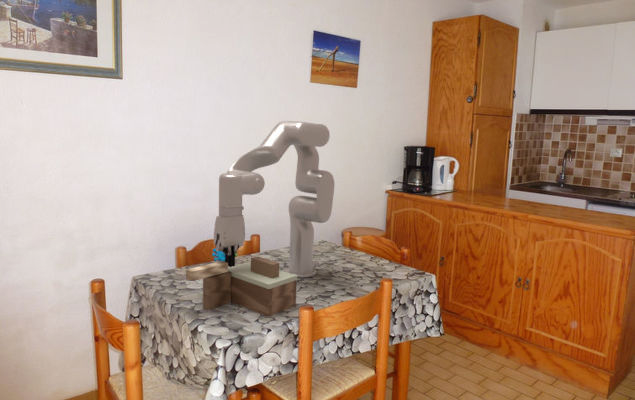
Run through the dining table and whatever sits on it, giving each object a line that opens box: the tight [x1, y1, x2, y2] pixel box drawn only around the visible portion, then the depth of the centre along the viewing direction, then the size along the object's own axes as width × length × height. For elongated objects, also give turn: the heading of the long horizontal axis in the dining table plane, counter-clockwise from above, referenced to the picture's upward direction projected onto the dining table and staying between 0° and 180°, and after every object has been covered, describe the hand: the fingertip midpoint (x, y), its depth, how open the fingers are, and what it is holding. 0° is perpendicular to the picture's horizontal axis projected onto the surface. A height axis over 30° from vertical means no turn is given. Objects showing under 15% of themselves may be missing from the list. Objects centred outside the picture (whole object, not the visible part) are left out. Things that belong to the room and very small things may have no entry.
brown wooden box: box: [202, 271, 298, 318], centre depth 154 cm, size 22×22×10 cm
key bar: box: [185, 261, 229, 282], centre depth 150 cm, size 14×3×3 cm, turn 141°
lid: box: [228, 256, 298, 289], centre depth 157 cm, size 13×22×6 cm, turn 51°
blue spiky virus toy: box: [211, 245, 238, 262], centre depth 201 cm, size 11×6×10 cm
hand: (229, 265), depth 157 cm, fingers closed
